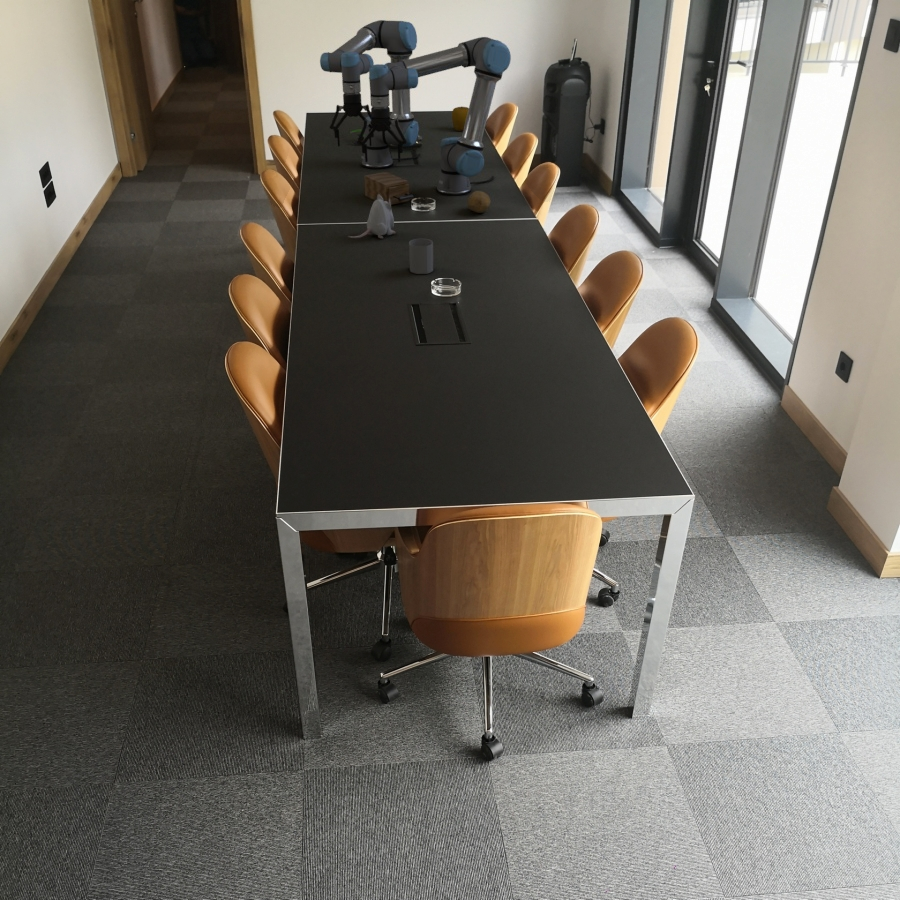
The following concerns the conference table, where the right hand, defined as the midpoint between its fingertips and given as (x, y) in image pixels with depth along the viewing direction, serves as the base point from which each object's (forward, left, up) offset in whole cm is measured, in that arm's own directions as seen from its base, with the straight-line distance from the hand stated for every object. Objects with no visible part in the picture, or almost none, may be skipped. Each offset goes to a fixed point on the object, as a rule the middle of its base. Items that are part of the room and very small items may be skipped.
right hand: (382, 161), depth 358 cm
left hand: (+5, -23, +2) cm, 24 cm away
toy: (+17, +35, -20) cm, 44 cm away
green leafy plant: (-33, -112, -20) cm, 119 cm away
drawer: (-6, -8, -19) cm, 21 cm away
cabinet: (-5, -13, -20) cm, 24 cm away
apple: (-86, -121, -20) cm, 150 cm away
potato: (-35, +19, -20) cm, 45 cm away
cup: (+11, +73, -20) cm, 77 cm away
